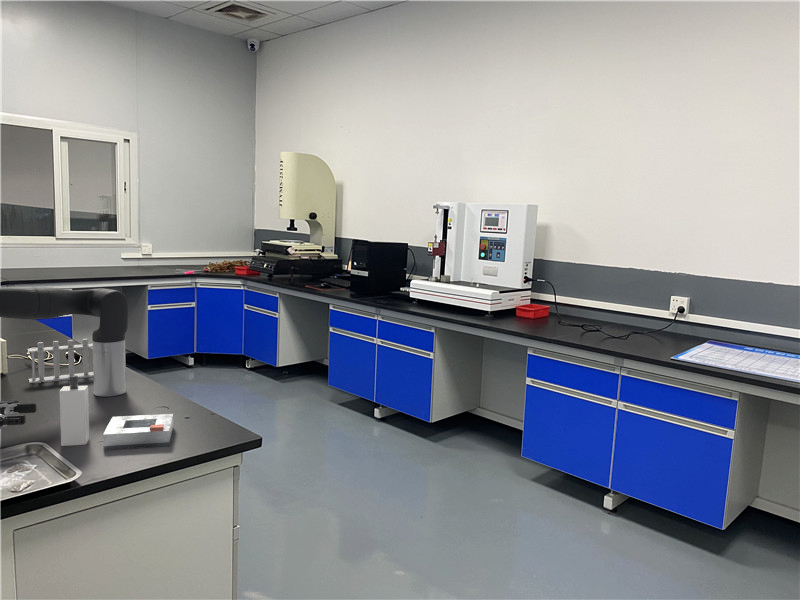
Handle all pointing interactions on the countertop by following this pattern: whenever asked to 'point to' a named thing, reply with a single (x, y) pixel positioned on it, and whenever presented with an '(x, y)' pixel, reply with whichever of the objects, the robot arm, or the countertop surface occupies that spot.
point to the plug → (74, 413)
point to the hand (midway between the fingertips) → (30, 413)
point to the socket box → (138, 431)
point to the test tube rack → (56, 361)
